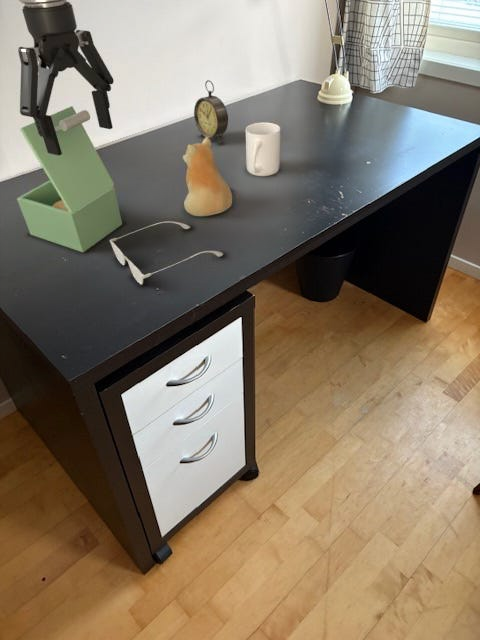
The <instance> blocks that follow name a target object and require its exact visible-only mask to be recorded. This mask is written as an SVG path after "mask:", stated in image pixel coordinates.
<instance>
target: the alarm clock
mask: <svg viewBox="0 0 480 640" xmlns="http://www.w3.org/2000/svg"><path fill="white" fill-rule="evenodd" d="M208 82H209V83H210V84H211V86H212V91H211V90H209V89H208V87H207V83H208ZM204 86H205V89H206V91H207V93H208V95H207V96H203V97H200V98H199V99H197V100H196V102H195V105H194V108H193V109H194V110H193V116H194V122H195V126H196V127H197V129H198V131H199V133H200V134H201V135H200V137H201V138H202V137H205V138H206V137H208V138H209V139H210V140H211V139H214V138H216V139H217V141H218V143H219V144H220V145H222V141H221V136H222V135H224V134H225V133H226V131H227V129H228V125H229V115H228V110H227V107H226V105H225V103H224V102H223V100H222V99H220V97H218V96H217V95H212V94H213V93H214V91H215V86H214V83H213V82H212V81H211V80H209V79H207V80H206V81H205V84H204Z"/></svg>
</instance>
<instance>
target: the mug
mask: <svg viewBox="0 0 480 640" xmlns="http://www.w3.org/2000/svg"><path fill="white" fill-rule="evenodd" d="M245 157H246V158H245V159H246V160H245V162H246V170H247V172H248V173H249V174H251V175H252V176H256V177H269V176H273V175H275V174H276V173H278V171H279V170H280V164H281V163H280V162H281V161H280V160H281V159H280V158H281V126H280V125H278V124H276V123H272V122H255V123H251V124H248V125H247V126H246V127H245Z"/></svg>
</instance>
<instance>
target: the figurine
mask: <svg viewBox="0 0 480 640" xmlns="http://www.w3.org/2000/svg"><path fill="white" fill-rule="evenodd" d="M182 159H183V161H184V162H185V164H186V166H187V170H186V174H185V175H186V176H185V182H186V187H187V189H188V193H187V195H186V197H185V199H184V201H183V202H184V209H185V211H186V212H187V213H188V214H190V215H192V216H194V217H208V216H209V217H210V216H214V215H217V214H220V213H224V212H225V211H227V210H228V209H230V208H231V207H232V204H233V193H232V190H231V188H230V186H229V184H228V183H227V182H226V180H225V179H224V178H223V177H222V176H221V173H220V172H219V170H218V168H217V166H216V163H215V155H214V152H213V150H212V141H211V139H209V138H208V137H205V138H204V139H203V140H202V142H197V143H193V144H188V145H187V148H186V151H185V154H182Z"/></svg>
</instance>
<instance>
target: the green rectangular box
mask: <svg viewBox="0 0 480 640" xmlns="http://www.w3.org/2000/svg"><path fill="white" fill-rule="evenodd" d="M16 200H17V203H18V205H19V208H20V211H21V213H22V216H23V218H24V221H25V223H26V226H27V229H28V232H29V234H30V236H33V237H35V238H40V239H42V240H45V241H48V242H50V243H54V244H57V245H60V246H63V247H66V248H68V249H71V250H75V251H78V252H81V253H84V252H86V251H87V250H89V249H90V248H91V247H93V246H94V245H96V244H97V243H98V242H100V241H101V240H103V239H104V238H106V237H107V236H108V235H110V234H111V233H112V232H114V231H116V230H117V229H118V228H119V227H120V226H122V225H123V220H122V217H121V213H120V208H119V203H118V198H117V196H116V190H115V187H112V188H110V189H108V190H107V191H105V192H104V193H102V194H101V195H99V196H97V197H96V198H94V199H93V200H91V201H89V202H88V203H86V204H85V205H83V206H82V207H80V208H78V209H77V210H75V211H74V212H72V213H70V212H69V211H65V210H62V209H59V208H55V207H52V206H53V205H54V204H55V203H56V202H58V201H60V200H62V199H61V197H60V196H59V194H58V192H57V191H56V189H55V187H54V186H53V184H52V182H51V181H50V179H49V180H48V181H45V182H44V183H42V184H40V185H38V186H37V187H35V188H32V189H31V190H29V191H27V192H26V193H23V194H22V195H20V196H19V197H17V198H16Z"/></svg>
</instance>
